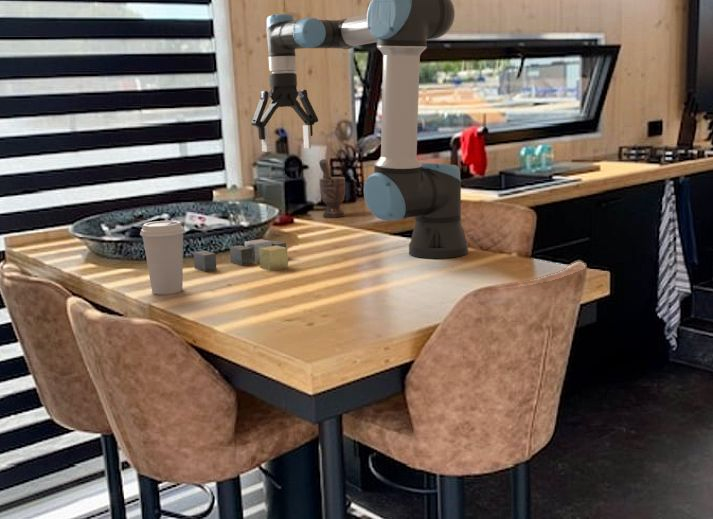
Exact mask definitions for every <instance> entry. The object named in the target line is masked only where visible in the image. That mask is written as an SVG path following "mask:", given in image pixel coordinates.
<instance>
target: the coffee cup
mask: <svg viewBox="0 0 713 519" xmlns="http://www.w3.org/2000/svg"><path fill="white" fill-rule="evenodd" d="M185 232H186V230H185V228H184V226H183V224H182V222H181V221H178V220H160V221H159V220H158V221H157V220H156V221H151V222H145V223H144V224H143V225H142V228H141V229H140V233H139V235H140V236H141V237H142V241H143V242H142V243H143V248H144V252H145V257H146V264H147V270H148V274H149V281H150V287H151V293H152V294H154V295H159V296H160V295H163V296H164V295H165V296H166V295H173V294H177V293H180V292H182V291H183V286H184V285H183V278H184V277H183V276H184V274H183V272H184V271H183V267H184V266H183V265H184V262H183V261H184V234H185Z"/></svg>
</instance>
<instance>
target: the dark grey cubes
mask: <svg viewBox="0 0 713 519" xmlns="http://www.w3.org/2000/svg"><path fill="white" fill-rule="evenodd" d="M270 241H271V245H272V246H276V245H277V246H281V247H285V248H287V243H286V242H284V241H280V240H279V241H278V240H276V239H275V240H273V239H272V240H270ZM229 254H230V263H231V264H235V265H237V266H238V265H239V266H249V265H253V261H252V248H249V247H245V245H241V244H239V245H234V246H229ZM216 256H217V254H216V253H214V252H211V251H207V250H198V251H193V263H194V269H197V270H199V271H203V272H211V271H218V270H217V268H218V267H217V257H216Z"/></svg>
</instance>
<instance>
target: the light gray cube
mask: <svg viewBox="0 0 713 519" xmlns="http://www.w3.org/2000/svg"><path fill="white" fill-rule="evenodd" d="M271 241H272V240H266V239H263V238H260V239H254V240H248V241H247V240H246V241H244V246H245V247H249V248H252V261H253V263H254V264H258V263H259V264H260V258H259V248H263V247H269V246H272V245H271Z"/></svg>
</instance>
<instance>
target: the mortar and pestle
mask: <svg viewBox="0 0 713 519" xmlns="http://www.w3.org/2000/svg"><path fill="white" fill-rule="evenodd" d="M319 168H320V170H321V171H322V173H323V176H324V177H322V178H319V192H320V193H319V194H320V197H321V199H322V202H323V203H324V204H325V205H326V209H325V211H324V213H323V214H322V216H323V217H324V218H330V219H334V218H335V219H336V218H342V217H345V216H346V213H345V211H344V209H342V207H341V204H342V203H343V201H345V195H346V178H345V177H344V176H332V175H331V174H332V173H331V170H330V164H329V162H328V160H327V159H326V158H325V159H323V158H322V159H321V160H319Z"/></svg>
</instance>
